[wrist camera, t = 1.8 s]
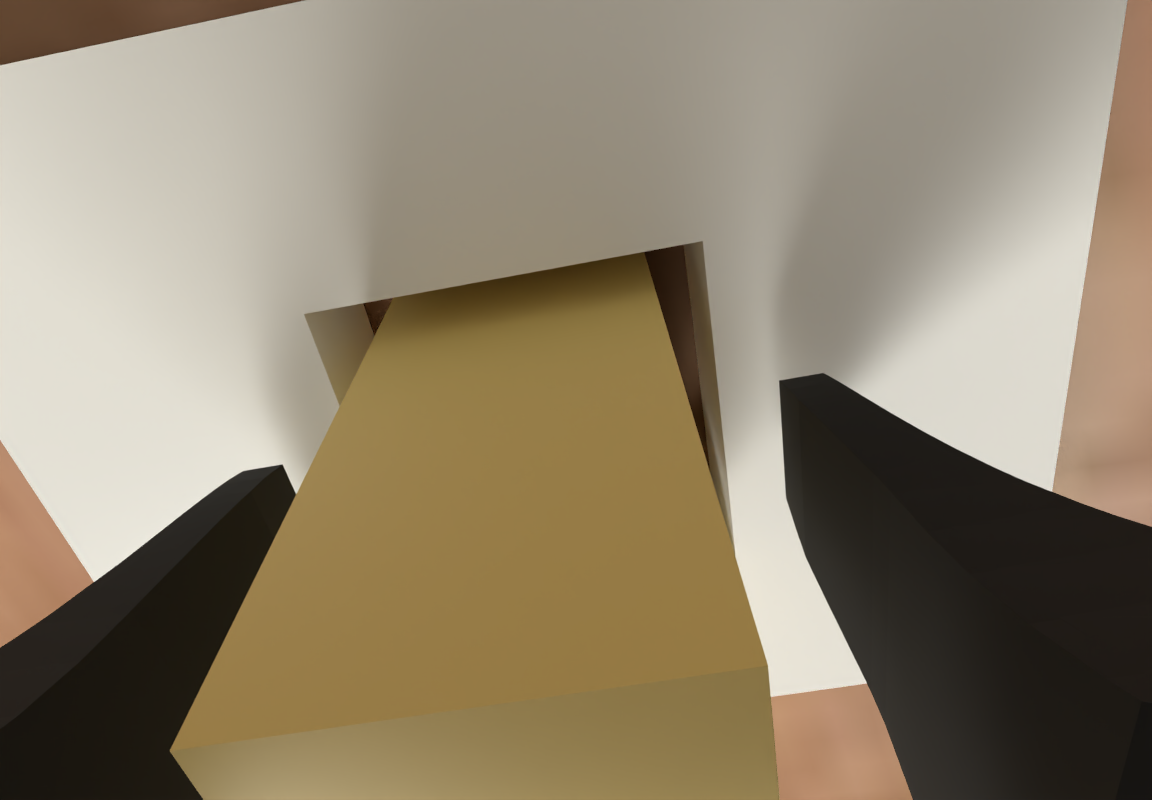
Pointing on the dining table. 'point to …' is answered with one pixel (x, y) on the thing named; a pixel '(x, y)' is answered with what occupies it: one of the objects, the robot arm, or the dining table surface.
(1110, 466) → the dining table surface
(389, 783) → the block
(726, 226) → the holder
